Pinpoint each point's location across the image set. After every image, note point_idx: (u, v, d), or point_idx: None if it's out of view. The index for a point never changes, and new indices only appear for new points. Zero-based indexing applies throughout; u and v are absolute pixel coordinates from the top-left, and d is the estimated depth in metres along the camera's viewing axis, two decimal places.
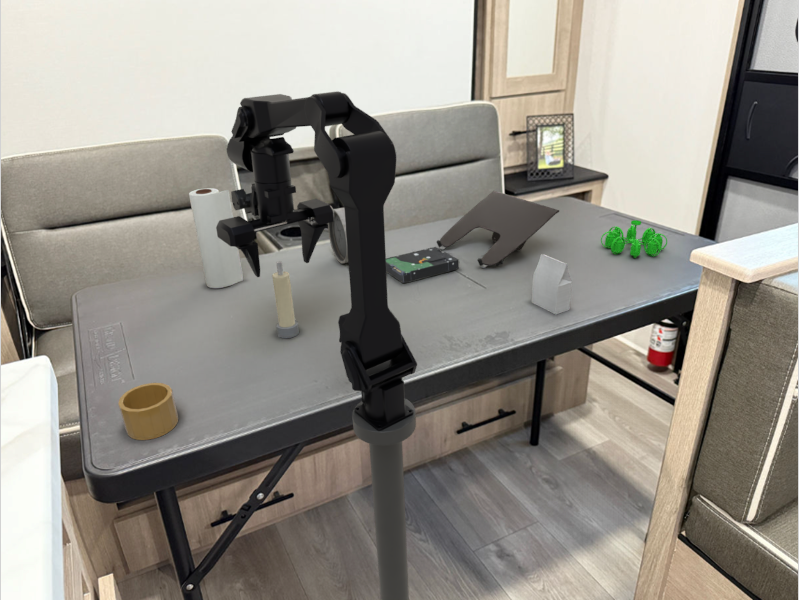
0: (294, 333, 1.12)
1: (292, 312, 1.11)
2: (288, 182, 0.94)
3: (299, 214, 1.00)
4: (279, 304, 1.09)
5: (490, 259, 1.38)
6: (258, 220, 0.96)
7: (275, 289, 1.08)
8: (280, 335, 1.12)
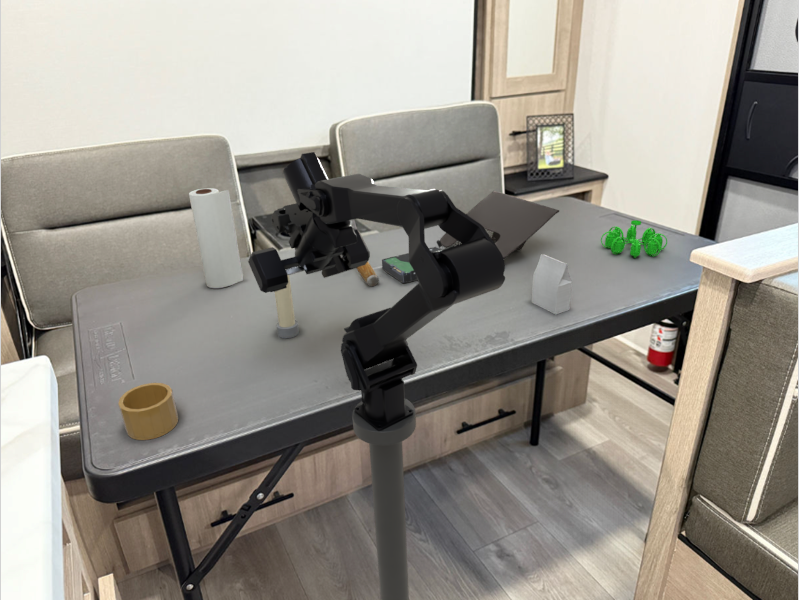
0: (294, 333, 1.12)
1: (292, 312, 1.11)
2: (338, 248, 0.89)
3: None
4: (279, 304, 1.09)
5: None
6: (294, 260, 0.92)
7: None
8: (280, 335, 1.12)
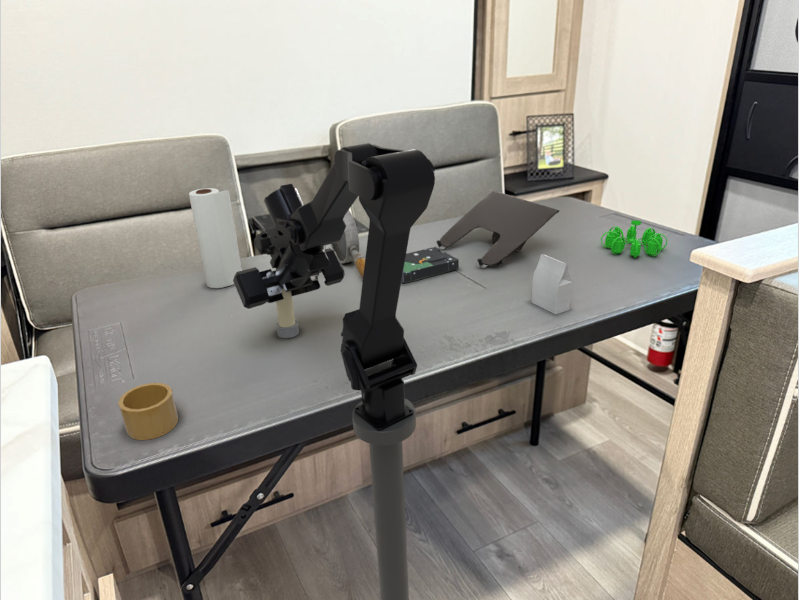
0: (294, 333, 1.12)
1: (292, 312, 1.11)
2: None
3: None
4: (279, 304, 1.09)
5: (490, 259, 1.38)
6: (274, 279, 1.02)
7: None
8: (280, 335, 1.12)
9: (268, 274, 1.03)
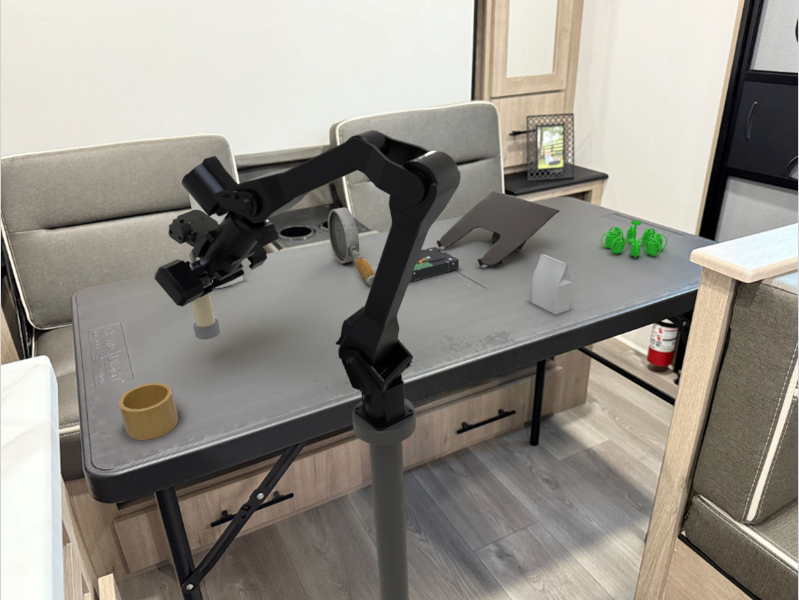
0: (217, 331, 1.00)
1: (212, 308, 0.99)
2: None
3: None
4: (198, 301, 0.96)
5: (490, 259, 1.38)
6: (202, 269, 0.90)
7: None
8: (202, 337, 0.99)
9: (192, 265, 0.90)
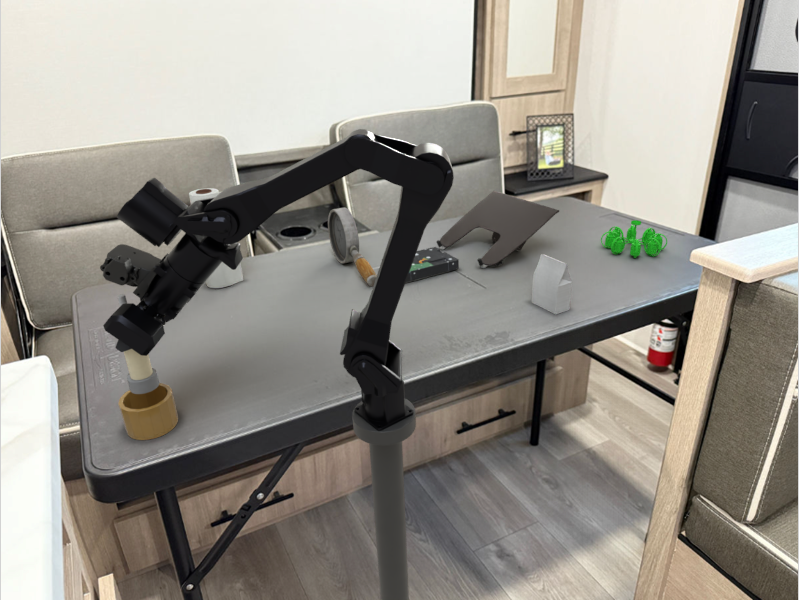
0: (158, 380, 0.87)
1: (148, 355, 0.85)
2: None
3: None
4: None
5: (490, 259, 1.38)
6: (153, 310, 0.78)
7: None
8: (143, 391, 0.85)
9: (139, 307, 0.77)
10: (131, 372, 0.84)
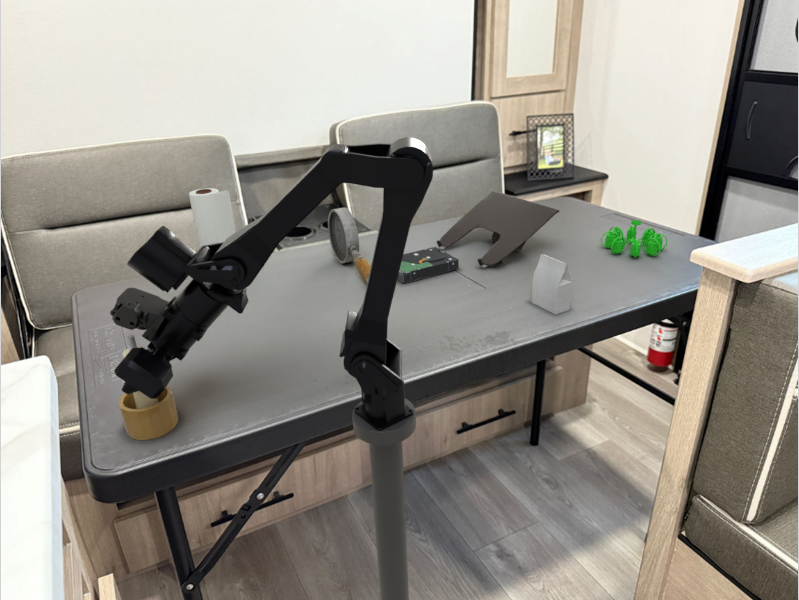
0: None
1: None
2: None
3: None
4: None
5: (490, 259, 1.38)
6: (161, 352, 0.80)
7: None
8: None
9: (149, 347, 0.80)
10: None
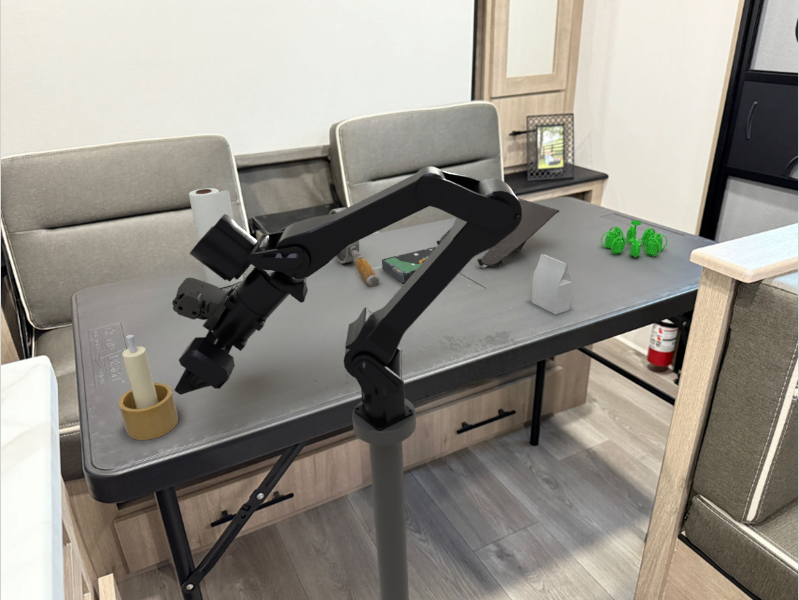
0: None
1: None
2: None
3: None
4: (144, 388, 0.85)
5: (490, 259, 1.38)
6: (222, 342, 0.79)
7: (135, 372, 0.83)
8: None
9: None
10: None
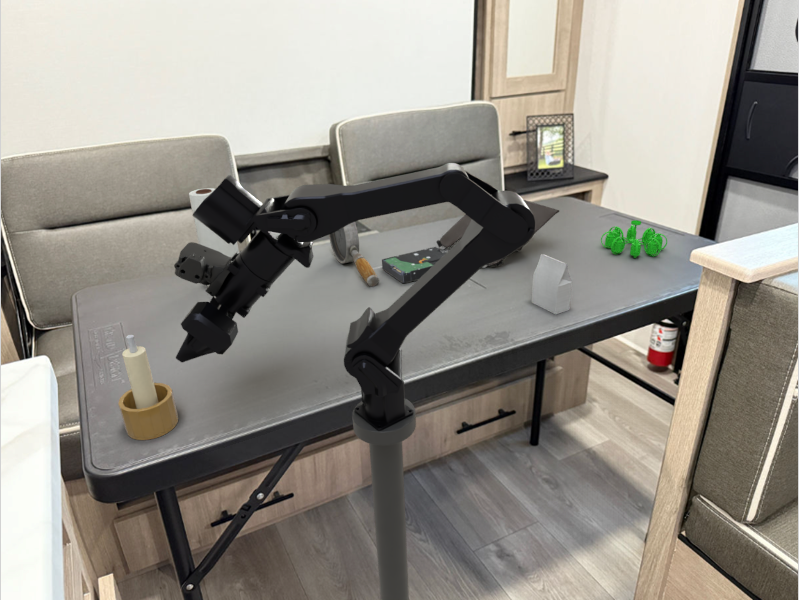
0: None
1: None
2: None
3: None
4: (144, 388, 0.85)
5: None
6: (225, 308, 0.77)
7: (135, 372, 0.83)
8: None
9: None
10: None
